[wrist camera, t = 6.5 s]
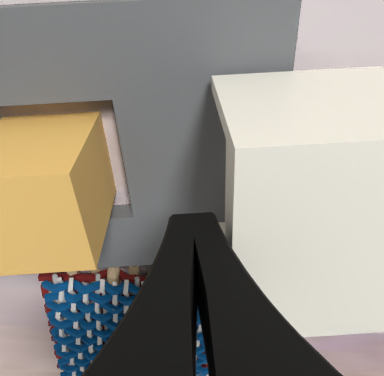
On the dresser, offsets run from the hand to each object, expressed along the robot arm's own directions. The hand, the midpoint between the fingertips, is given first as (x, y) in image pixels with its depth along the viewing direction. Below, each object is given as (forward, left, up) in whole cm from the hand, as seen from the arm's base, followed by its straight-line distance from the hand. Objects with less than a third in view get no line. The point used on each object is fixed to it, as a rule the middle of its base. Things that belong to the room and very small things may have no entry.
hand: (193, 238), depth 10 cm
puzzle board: (-5, 0, -6) cm, 8 cm away
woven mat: (-4, -12, -7) cm, 14 cm away
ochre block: (-6, 0, -6) cm, 8 cm away
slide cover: (+4, 0, -4) cm, 6 cm away
